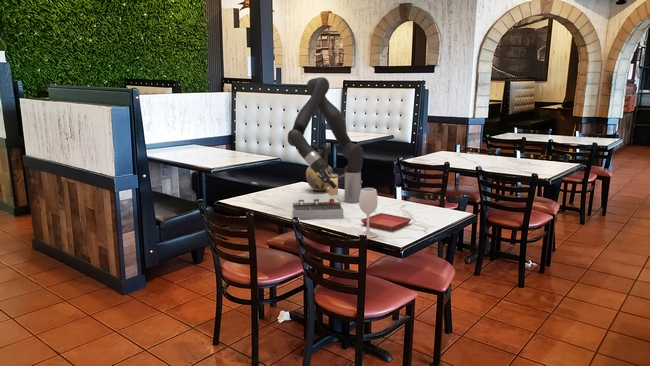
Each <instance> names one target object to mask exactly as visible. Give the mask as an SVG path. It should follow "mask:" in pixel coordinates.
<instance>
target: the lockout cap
mask: <svg viewBox="0 0 650 366" xmlns="http://www.w3.org/2000/svg"><path fill="white" fill-rule="evenodd" d="M330 178H331V180H332V181H333V182H334V183H335V185H336V186H337V187H336V188H335V189H333V188H332V187H331V186H330V185H329V187H328V195H330V196H338V194H339V186H338V182H339V175H338V174H337V173H334V174H330Z"/></svg>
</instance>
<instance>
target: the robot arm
mask: <svg viewBox="0 0 650 366" xmlns="http://www.w3.org/2000/svg"><path fill="white" fill-rule="evenodd" d="M329 89H330V83H329V80H328V78H326V77H322V76H320V77H315V78H311V79H309V80H308V81H307V83H306V90H307V92H308V94H309V95H310V97H309V99H308V100H307V102H306V103H305V104H304V105H303V106H302V108H301V109H300V110H299V112H298V113H297V116H296V118H295V120H294V123H293V127H292V129H290V130H289V131H288V133H287V143H288V145H290V146H291V147H295V148H296V150H297V152H298V153H299V156H300V157H302V159H303V160H304V161H305V163H306V164H307V166H308V167H309V166H310V167H311V169H312V170H313V171H314V172H315V173H317V172H318V173H319V174H318V175H317V176H318V177H319V178H320V179H321V180H322V181H323V182H325V183H328V184H329V185H330V186H331V187H332V188H333V189H335V188H336V187H337V186H336V185H335V183H334V182H333V181H332V180H331V178H330V174H335V172H334V170H333V168H332V167H331V168H332V169H331V168H330V169H328V168H326V167H325V165H326V162H325V161H324V160H323V159H322V158H321V157H320V155H319V154H318V153H317V152H316V151H314V149H313V148H312V147H311V146H310V145H311V144H309V142H308V140H307V139H306V137H304V135H305V131H306V129H307V128H308V125H309V124H310V121H311V119H312V118H313V116H314V114H315V112H316V111H317V108H318V109H319V110H320V113H321V114H322V117H323V118H324V120H325V122H326V124H327V125H328V127H329V129H330V131H331V133H332V134H333V136H334V138H335V139H336V142H337V143H338V145H339V148H340V151H341V154H342V155H343V157H344V158H345V159H347V160H348V161H347V165H346V166H344V202H345V203H347V204H357V203H359V197H360V192H361V189H362V184H361V183H362V182H361V181H362V178H361V177H362V175H361V174H362V168H363V163H364V161H363V159H364V151H363V146H361V145H360V144H356V143H353V142H352V140H351V138H350V136H349V134H348V131H347V123H346V121H345V119H344V117H343V115H342V113H341V111H340V109H338V108H337V107H336V106H335V105H334V104H333V103H332V102H330V100H329V99H328V98H327V96H326V95H327V94H328V92H329ZM332 170H333V171H332ZM340 185H341V183H340V182H339V181H338V187H340Z"/></svg>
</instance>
